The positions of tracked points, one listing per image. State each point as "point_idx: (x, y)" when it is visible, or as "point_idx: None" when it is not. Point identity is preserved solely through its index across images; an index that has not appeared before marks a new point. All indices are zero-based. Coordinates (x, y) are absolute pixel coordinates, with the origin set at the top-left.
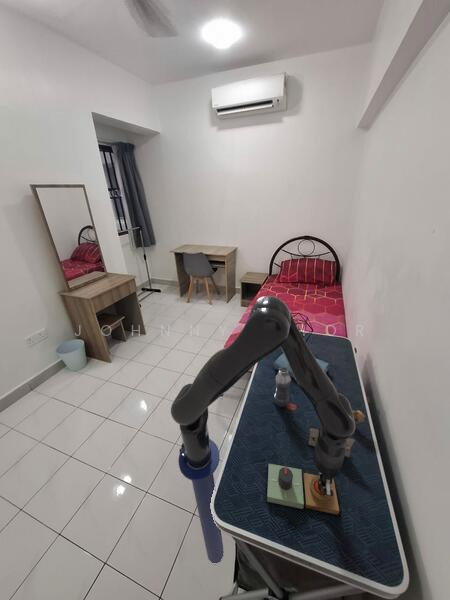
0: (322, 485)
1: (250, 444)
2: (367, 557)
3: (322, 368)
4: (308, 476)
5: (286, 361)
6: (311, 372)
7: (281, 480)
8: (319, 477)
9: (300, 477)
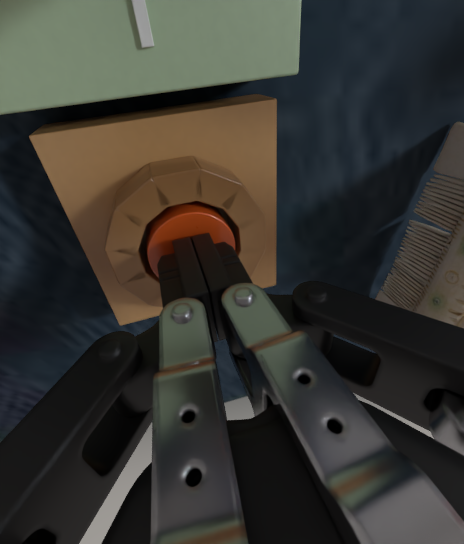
0: (131, 378)
1: None
2: (23, 392)
3: None
4: (256, 142)
5: None
6: None
7: None
8: (158, 471)
9: (226, 66)
